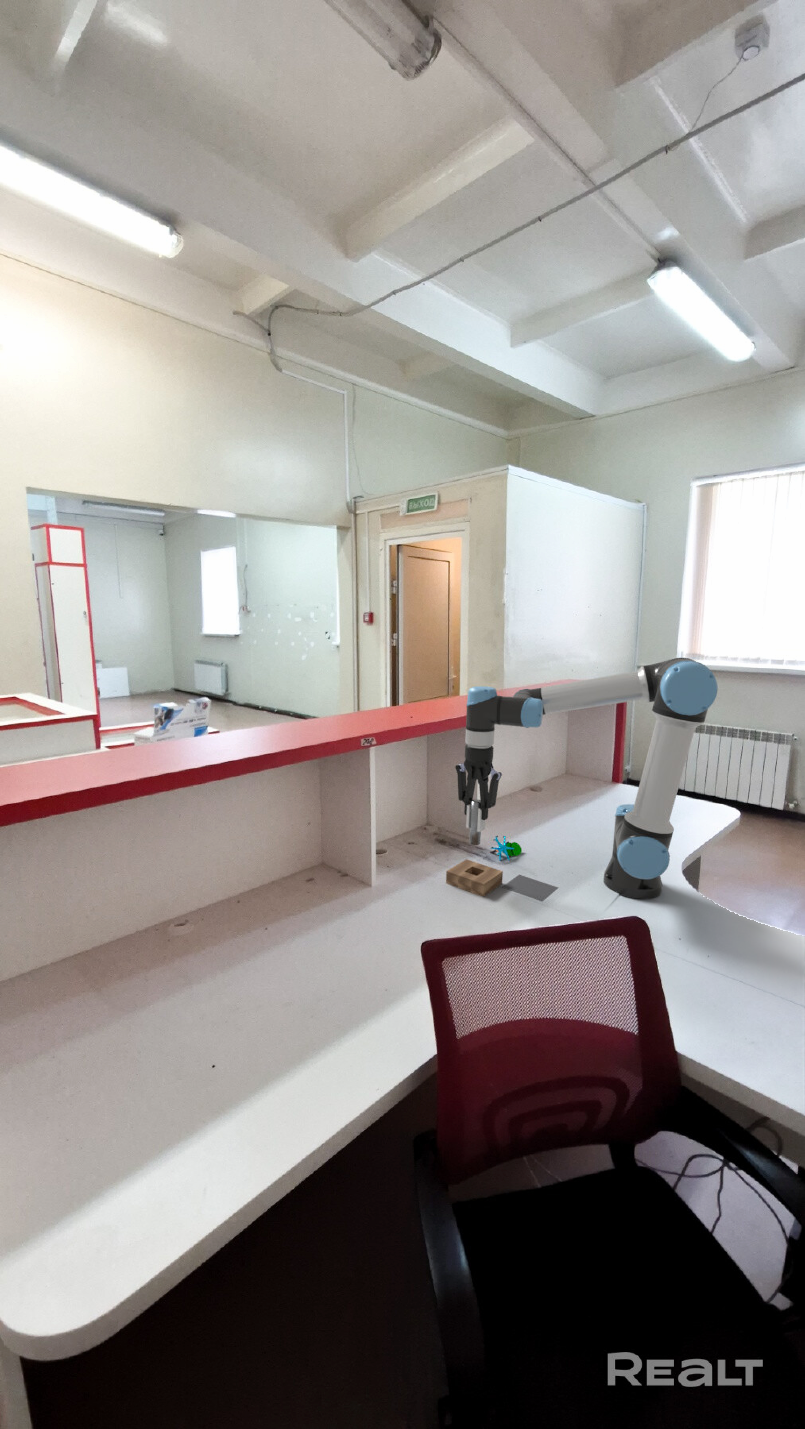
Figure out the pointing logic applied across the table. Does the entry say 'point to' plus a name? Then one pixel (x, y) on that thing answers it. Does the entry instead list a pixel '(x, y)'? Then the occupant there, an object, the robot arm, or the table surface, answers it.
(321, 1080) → the table surface
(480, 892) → the wooden block with hole
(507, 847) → the stick construction toy
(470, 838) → the pin
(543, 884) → the mat
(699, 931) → the table surface
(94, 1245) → the table surface
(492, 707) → the robot arm
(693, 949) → the table surface
